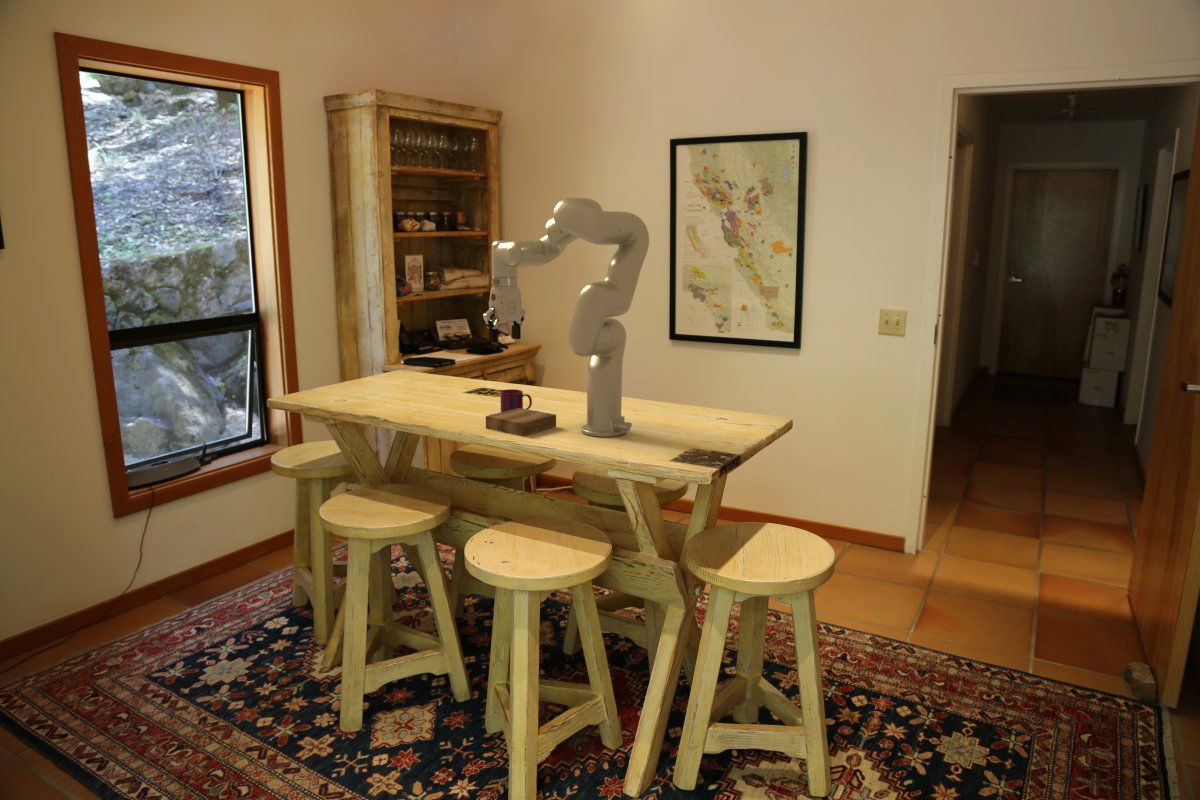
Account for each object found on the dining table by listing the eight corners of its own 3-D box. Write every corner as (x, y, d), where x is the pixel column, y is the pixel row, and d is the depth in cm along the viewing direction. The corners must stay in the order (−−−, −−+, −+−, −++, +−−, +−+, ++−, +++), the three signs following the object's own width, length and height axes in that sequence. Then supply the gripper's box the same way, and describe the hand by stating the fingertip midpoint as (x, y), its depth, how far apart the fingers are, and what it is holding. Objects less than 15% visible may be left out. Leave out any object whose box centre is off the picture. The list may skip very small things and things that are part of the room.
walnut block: (556, 428, 240) (556, 414, 239) (522, 437, 229) (522, 423, 228) (519, 421, 248) (519, 407, 247) (485, 430, 237) (485, 416, 236)
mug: (509, 410, 260) (508, 388, 259) (536, 413, 256) (536, 391, 254) (496, 414, 255) (496, 392, 253) (523, 418, 250) (523, 395, 249)
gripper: (493, 285, 240) (493, 344, 244) (533, 282, 254) (533, 338, 257) (474, 283, 245) (475, 342, 248) (515, 280, 258) (515, 336, 262)
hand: (505, 340), depth 253 cm, fingers open, 9 cm apart
